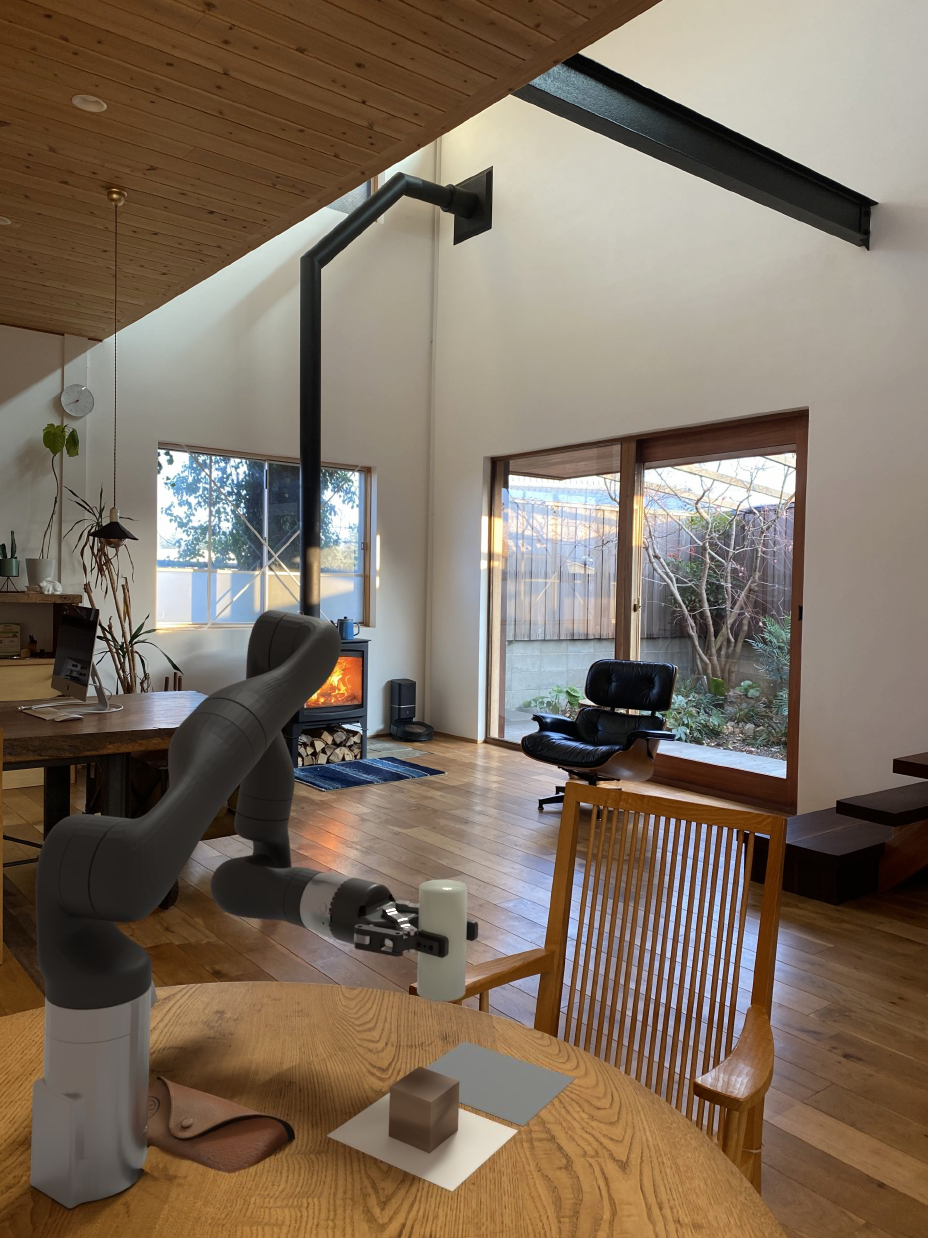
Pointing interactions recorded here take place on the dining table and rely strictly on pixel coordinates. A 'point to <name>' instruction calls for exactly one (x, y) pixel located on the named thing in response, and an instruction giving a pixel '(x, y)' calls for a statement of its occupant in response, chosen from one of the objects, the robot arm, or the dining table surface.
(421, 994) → the pale green pillar candle
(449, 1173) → the cream mat
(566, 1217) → the dining table surface
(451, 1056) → the slate mat
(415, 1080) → the walnut block
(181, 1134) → the sunglasses case
